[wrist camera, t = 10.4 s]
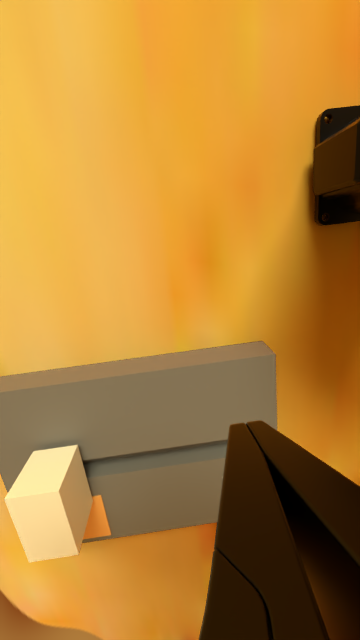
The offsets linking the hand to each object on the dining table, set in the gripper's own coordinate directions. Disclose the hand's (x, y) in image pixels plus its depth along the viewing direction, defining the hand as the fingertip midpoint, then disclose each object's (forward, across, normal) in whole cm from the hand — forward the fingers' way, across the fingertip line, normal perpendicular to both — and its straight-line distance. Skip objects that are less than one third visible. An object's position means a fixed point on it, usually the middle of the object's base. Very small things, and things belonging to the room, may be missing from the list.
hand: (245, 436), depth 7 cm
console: (+13, +5, +10) cm, 17 cm away
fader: (+12, +11, +10) cm, 19 cm away
